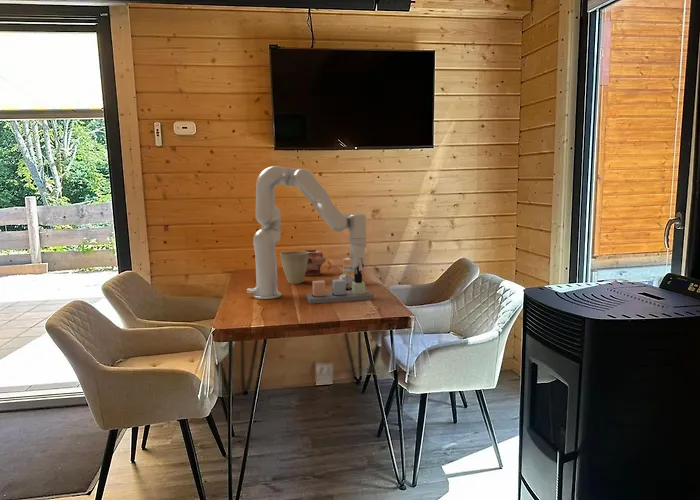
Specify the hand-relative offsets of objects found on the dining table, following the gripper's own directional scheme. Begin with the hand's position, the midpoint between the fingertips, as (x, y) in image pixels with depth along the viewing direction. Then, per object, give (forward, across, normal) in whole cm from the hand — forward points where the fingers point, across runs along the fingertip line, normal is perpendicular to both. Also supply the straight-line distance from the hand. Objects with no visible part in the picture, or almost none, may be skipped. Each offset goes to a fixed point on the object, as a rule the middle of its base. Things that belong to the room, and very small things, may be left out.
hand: (358, 282), depth 221 cm
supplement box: (+7, -31, +4) cm, 32 cm away
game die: (+7, -19, -2) cm, 20 cm away
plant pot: (+7, -43, -24) cm, 50 cm away
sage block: (+6, 0, 0) cm, 6 cm away
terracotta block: (+5, 0, -18) cm, 19 cm away
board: (+7, 0, -9) cm, 11 cm away
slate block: (+5, 0, -9) cm, 10 cm away
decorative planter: (+7, -64, -14) cm, 66 cm away
